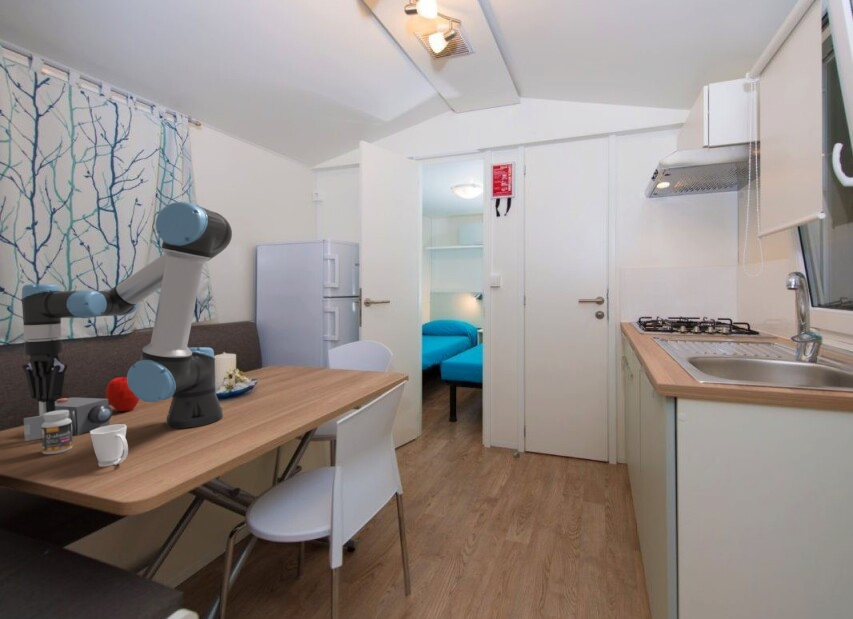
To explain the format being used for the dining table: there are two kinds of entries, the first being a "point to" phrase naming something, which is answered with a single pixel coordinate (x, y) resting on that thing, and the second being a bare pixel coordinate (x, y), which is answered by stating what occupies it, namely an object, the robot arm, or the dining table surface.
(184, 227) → the robot arm
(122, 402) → the apple
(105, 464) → the cup
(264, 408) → the dining table surface
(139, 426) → the dining table surface
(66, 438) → the pill bottle
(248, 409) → the dining table surface
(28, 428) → the side door
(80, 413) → the camera body
